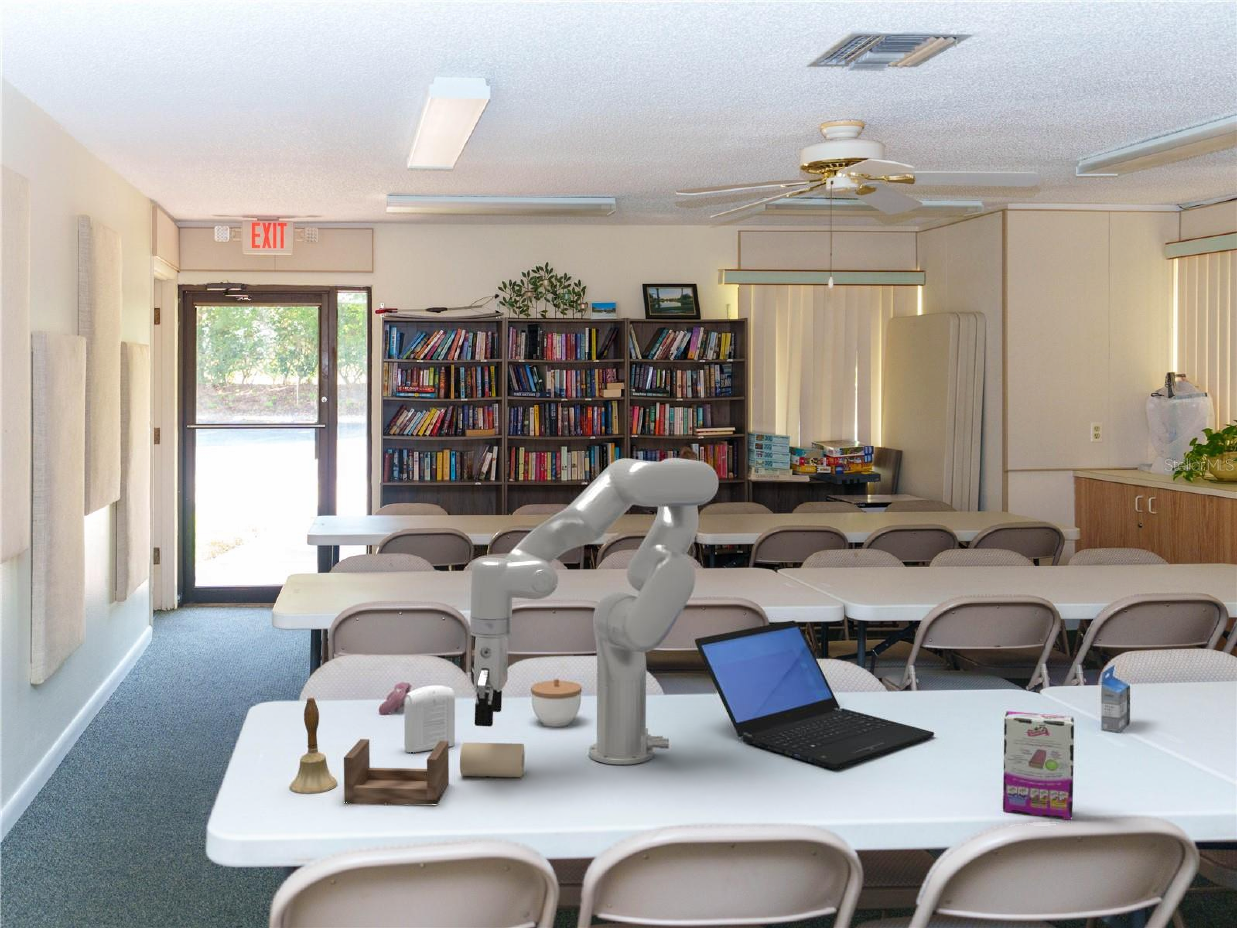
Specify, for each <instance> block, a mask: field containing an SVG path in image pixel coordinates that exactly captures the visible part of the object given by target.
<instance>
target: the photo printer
mask: <svg viewBox="0 0 1237 928" xmlns="http://www.w3.org/2000/svg"><path fill="white" fill-rule="evenodd" d="M455 704H456V698H455V691H454V690H453V688H451V687H449V686H445V685H435V684H434V685H427V686H423V687H418V688H416V689H414V690H412V691H411V690H410V692H409V693H407V694H406V696H405V703H404V751H405V752H406V753H409V752H410V753H411V752H413V753H419V752H425V751H430V750H432V751H433V750H434V748H435V747H436V745H437V744H438V743H439V741H449V747H453V746H455V743H456V742H455V741H456V738H455V735H456V734H455V733H456V731H455V730H456V729H455V726H456V724H455V723H456V722H455V721H456V720H455V719H456V705H455ZM410 753H409V754H410ZM411 754H412V753H411Z"/></svg>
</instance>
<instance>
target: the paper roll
mask: <svg viewBox="0 0 1237 928" xmlns="http://www.w3.org/2000/svg"><path fill="white" fill-rule="evenodd" d="M525 753H526V751H525V745H524V743H513V742H511V743H509V742H508V743H506V742H505V743H502V742H466V741H465V742H463V743H462V744H461V749H460V754H459V755H460V756H459V771H460V775H461V776H462V777H486V776H489V777H492V778H493V777H495V778H497V777H498V778H499V777H500V778H522V777H523V776H522V775H524V772H525V771H524V769H525V758H526V755H525ZM489 777H488V778H489Z"/></svg>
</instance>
